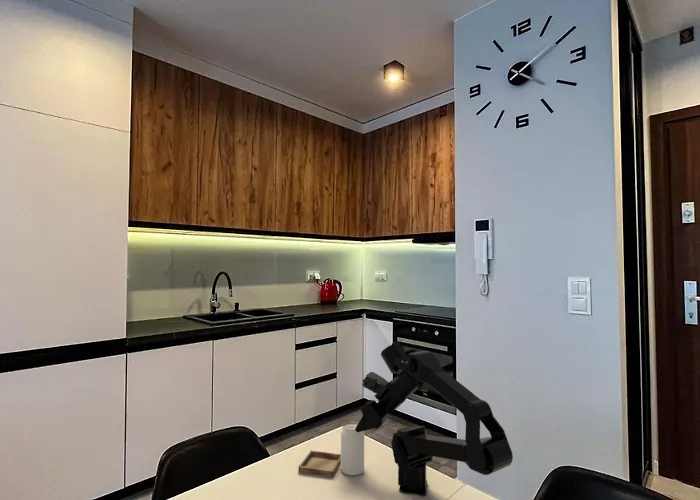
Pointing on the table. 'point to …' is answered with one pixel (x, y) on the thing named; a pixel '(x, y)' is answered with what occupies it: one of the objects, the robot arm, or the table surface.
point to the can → (352, 450)
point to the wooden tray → (320, 463)
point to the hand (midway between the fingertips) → (362, 424)
